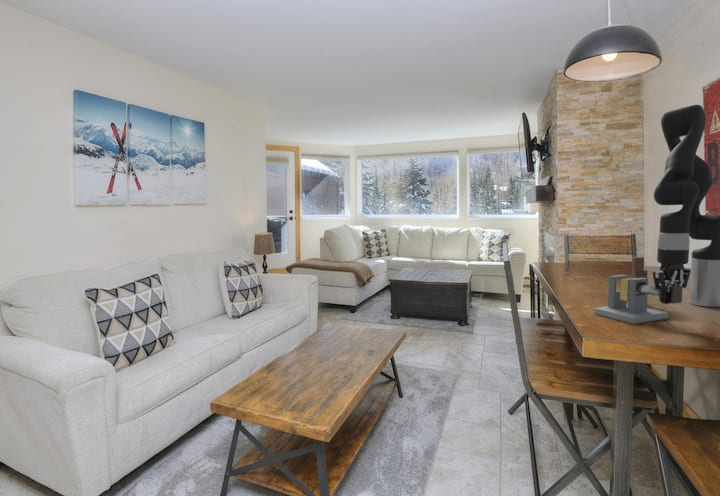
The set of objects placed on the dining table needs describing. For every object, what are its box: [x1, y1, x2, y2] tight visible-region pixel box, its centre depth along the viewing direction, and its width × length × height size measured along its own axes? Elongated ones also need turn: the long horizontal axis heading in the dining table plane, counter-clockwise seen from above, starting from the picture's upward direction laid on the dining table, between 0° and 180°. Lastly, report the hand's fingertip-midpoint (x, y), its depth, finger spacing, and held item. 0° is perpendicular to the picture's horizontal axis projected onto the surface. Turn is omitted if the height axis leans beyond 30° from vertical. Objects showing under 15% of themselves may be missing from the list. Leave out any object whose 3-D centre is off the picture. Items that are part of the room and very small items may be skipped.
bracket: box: [593, 274, 669, 325], centre depth 134 cm, size 16×14×13 cm
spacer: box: [619, 277, 640, 302], centre depth 133 cm, size 7×2×7 cm, turn 110°
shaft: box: [636, 284, 683, 304], centre depth 128 cm, size 4×17×5 cm, turn 20°
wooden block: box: [631, 256, 649, 278], centre depth 147 cm, size 4×11×18 cm, turn 153°
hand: (670, 302), depth 122 cm, fingers closed on shaft, 4 cm apart
